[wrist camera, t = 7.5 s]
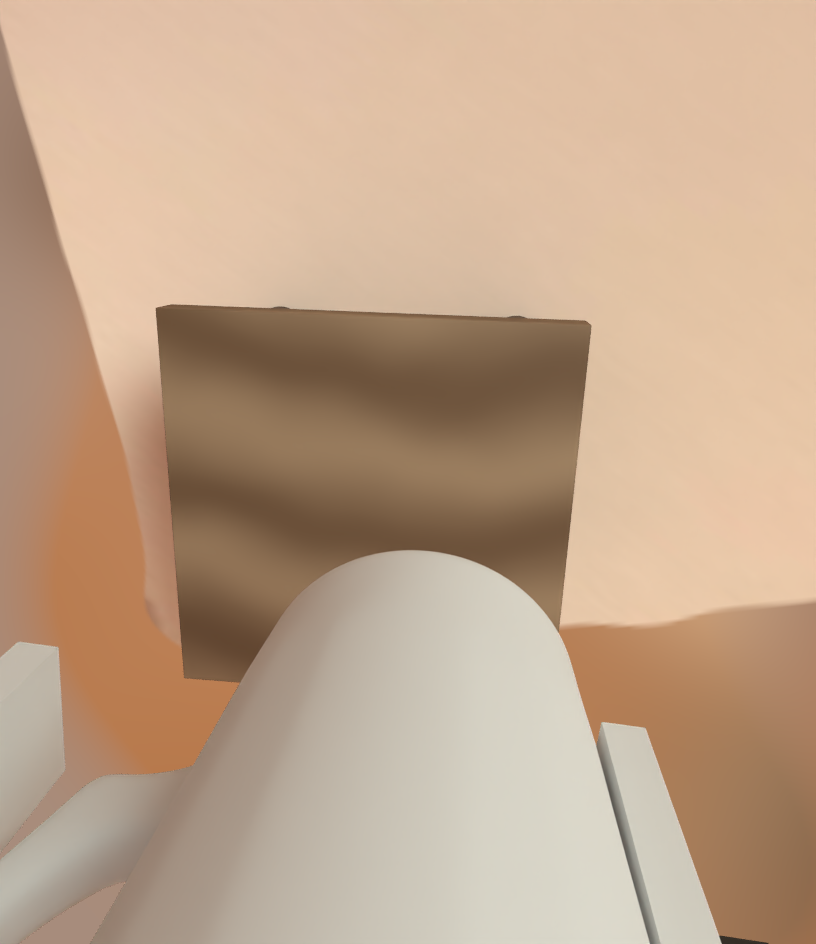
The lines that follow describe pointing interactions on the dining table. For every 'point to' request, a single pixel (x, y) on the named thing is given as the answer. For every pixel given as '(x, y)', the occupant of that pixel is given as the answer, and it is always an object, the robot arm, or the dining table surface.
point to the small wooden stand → (359, 455)
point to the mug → (362, 788)
